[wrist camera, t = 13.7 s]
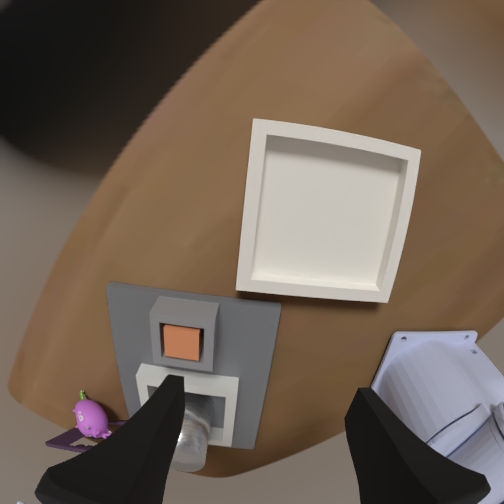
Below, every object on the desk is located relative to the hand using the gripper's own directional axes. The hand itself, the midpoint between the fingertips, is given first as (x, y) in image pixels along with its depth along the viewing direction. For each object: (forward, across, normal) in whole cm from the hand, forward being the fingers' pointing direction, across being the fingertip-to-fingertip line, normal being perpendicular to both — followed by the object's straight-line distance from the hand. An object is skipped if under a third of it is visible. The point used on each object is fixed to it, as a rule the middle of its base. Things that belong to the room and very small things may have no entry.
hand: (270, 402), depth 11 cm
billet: (+9, +5, +10) cm, 14 cm away
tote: (+9, -3, -6) cm, 12 cm away
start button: (+8, +5, +2) cm, 10 cm away
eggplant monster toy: (+9, +14, +15) cm, 23 cm away
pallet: (+9, +5, +8) cm, 14 cm away
